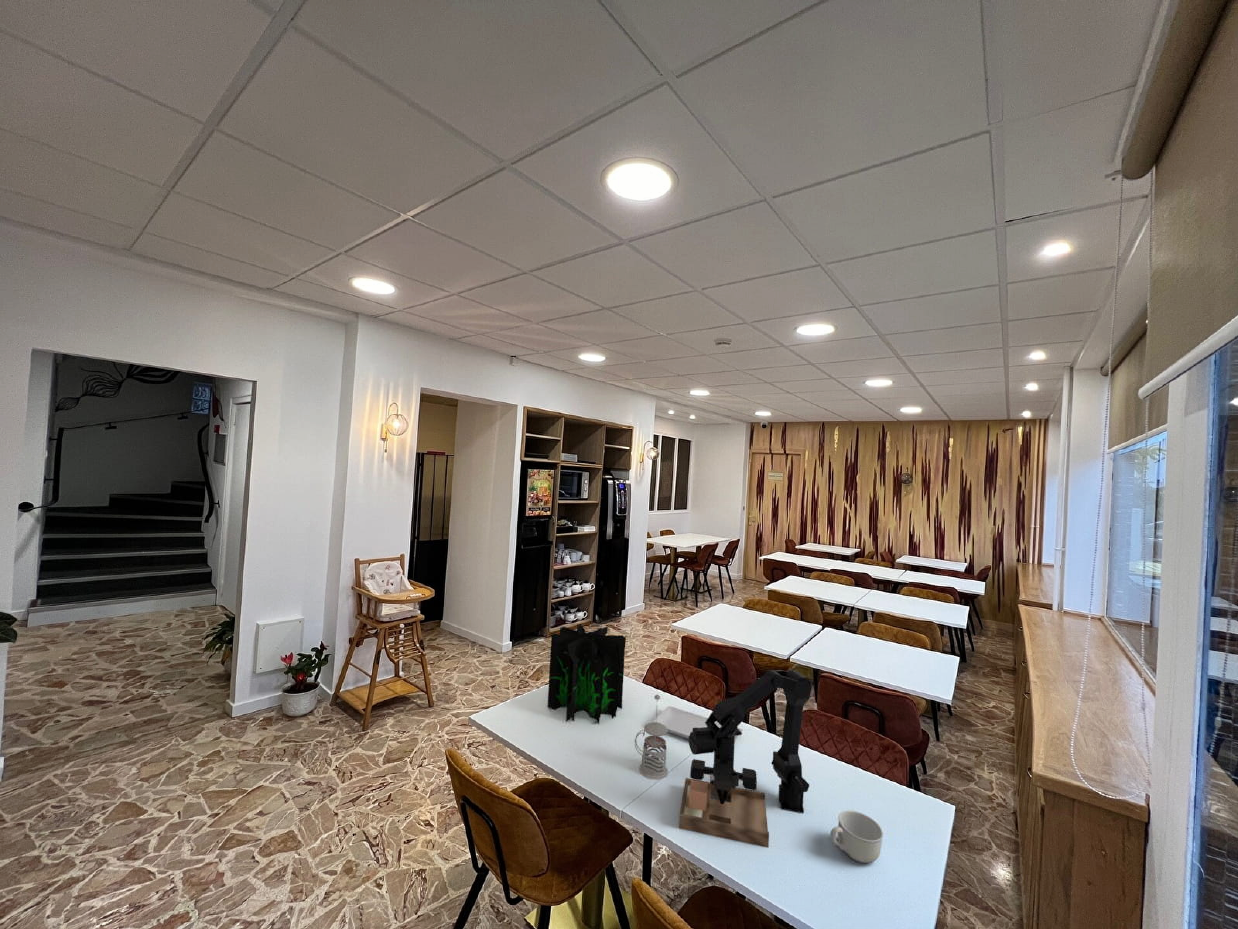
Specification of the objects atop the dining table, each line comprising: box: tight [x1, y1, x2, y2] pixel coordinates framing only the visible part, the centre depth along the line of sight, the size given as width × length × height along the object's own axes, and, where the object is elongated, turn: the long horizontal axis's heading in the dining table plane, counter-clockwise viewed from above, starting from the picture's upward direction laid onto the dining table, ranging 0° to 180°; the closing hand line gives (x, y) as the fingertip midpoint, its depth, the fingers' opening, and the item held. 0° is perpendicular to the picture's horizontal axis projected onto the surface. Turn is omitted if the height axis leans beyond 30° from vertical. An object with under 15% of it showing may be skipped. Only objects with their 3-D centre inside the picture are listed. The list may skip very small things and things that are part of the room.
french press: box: [634, 694, 669, 781], centre depth 165 cm, size 10×12×25 cm
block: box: [689, 780, 708, 811], centre depth 146 cm, size 5×5×5 cm
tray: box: [651, 705, 744, 743], centre depth 190 cm, size 17×32×4 cm, turn 60°
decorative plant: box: [547, 623, 627, 724], centre depth 207 cm, size 29×30×30 cm
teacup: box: [830, 809, 884, 864], centre depth 132 cm, size 14×11×8 cm
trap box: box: [678, 777, 770, 848], centre depth 144 cm, size 24×18×4 cm
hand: (722, 803), depth 144 cm, fingers closed
